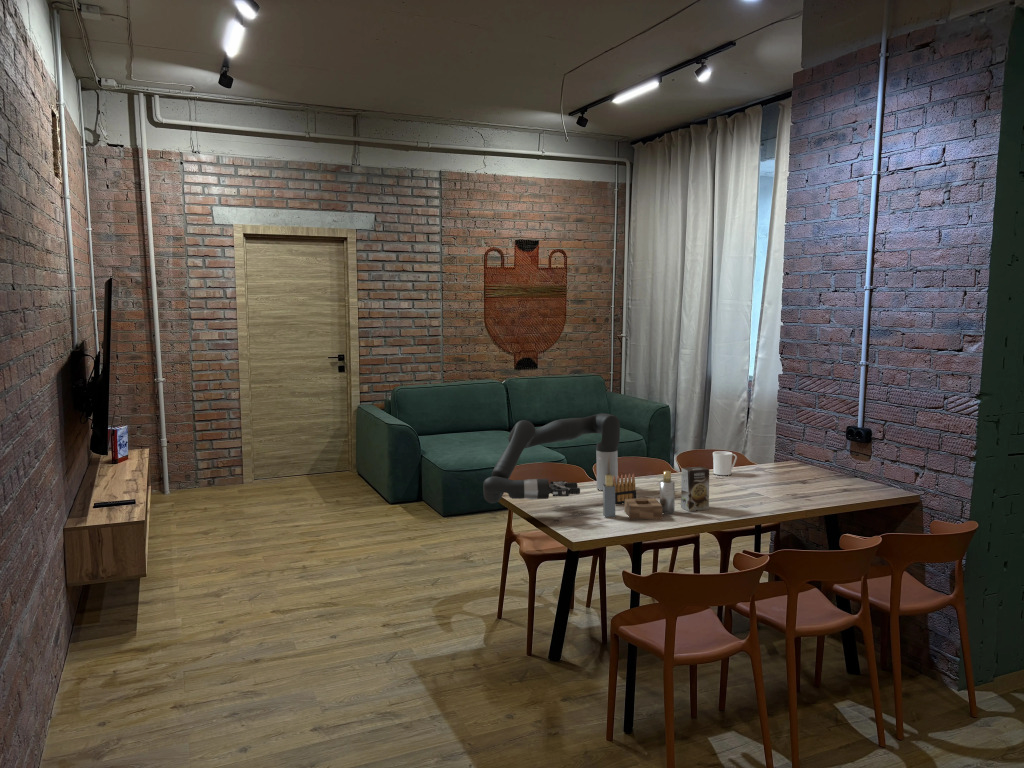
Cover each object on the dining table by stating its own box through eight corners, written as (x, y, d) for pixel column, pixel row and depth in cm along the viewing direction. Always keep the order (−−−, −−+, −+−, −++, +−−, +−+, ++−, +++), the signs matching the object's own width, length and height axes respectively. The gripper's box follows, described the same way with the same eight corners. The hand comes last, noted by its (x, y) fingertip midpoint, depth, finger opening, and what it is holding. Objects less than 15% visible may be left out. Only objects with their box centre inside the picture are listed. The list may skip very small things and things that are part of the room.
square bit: (603, 514, 277) (602, 474, 275) (613, 514, 277) (613, 473, 275) (604, 517, 273) (604, 476, 271) (615, 517, 273) (615, 476, 271)
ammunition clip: (634, 501, 296) (634, 472, 295) (636, 502, 294) (636, 473, 293) (611, 504, 292) (611, 475, 291) (613, 505, 290) (613, 476, 289)
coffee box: (688, 511, 278) (689, 470, 277) (680, 507, 285) (680, 467, 283) (709, 509, 281) (710, 468, 279) (700, 505, 287) (701, 465, 286)
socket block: (624, 511, 281) (624, 498, 281) (655, 510, 281) (655, 497, 281) (630, 520, 269) (630, 507, 269) (662, 519, 269) (662, 506, 269)
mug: (712, 476, 337) (712, 454, 336) (712, 471, 345) (713, 450, 344) (736, 477, 333) (737, 455, 332) (736, 472, 342) (736, 451, 341)
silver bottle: (658, 510, 281) (658, 470, 280) (672, 510, 281) (672, 469, 280) (661, 514, 276) (661, 473, 274) (676, 514, 276) (676, 473, 274)
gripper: (535, 494, 280) (576, 493, 281) (537, 503, 266) (580, 502, 266) (534, 475, 280) (576, 474, 280) (537, 483, 265) (580, 482, 266)
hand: (578, 488), depth 273 cm, fingers open, 8 cm apart
